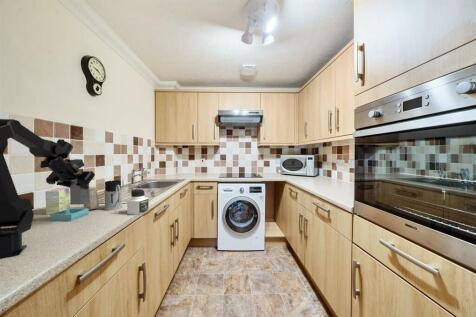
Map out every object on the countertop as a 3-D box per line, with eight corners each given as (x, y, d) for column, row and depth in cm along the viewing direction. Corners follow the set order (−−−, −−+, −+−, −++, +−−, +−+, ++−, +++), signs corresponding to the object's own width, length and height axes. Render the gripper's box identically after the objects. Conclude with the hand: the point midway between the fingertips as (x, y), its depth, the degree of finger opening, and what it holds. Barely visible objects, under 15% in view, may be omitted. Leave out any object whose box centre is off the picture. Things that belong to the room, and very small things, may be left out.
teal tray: (71, 221, 89) (71, 214, 89) (50, 220, 90) (50, 214, 90) (88, 214, 99) (88, 208, 99) (69, 214, 99) (69, 208, 99)
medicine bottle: (139, 215, 98) (139, 190, 98) (127, 214, 100) (126, 190, 100) (148, 211, 105) (148, 188, 105) (137, 210, 107) (136, 188, 107)
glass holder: (119, 205, 117) (118, 179, 117) (128, 209, 108) (128, 182, 107) (101, 208, 110) (101, 181, 110) (110, 213, 101) (109, 183, 101)
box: (57, 209, 108) (56, 187, 108) (70, 208, 110) (69, 187, 110) (45, 215, 98) (44, 191, 98) (59, 214, 100) (59, 190, 100)
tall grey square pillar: (80, 204, 91) (79, 175, 91) (70, 204, 91) (69, 176, 91) (89, 201, 96) (88, 174, 96) (80, 201, 96) (79, 175, 96)
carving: (92, 207, 112) (91, 186, 112) (101, 208, 110) (101, 187, 110) (80, 210, 106) (79, 188, 106) (89, 211, 104) (89, 188, 104)
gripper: (91, 153, 88) (109, 175, 100) (51, 153, 90) (74, 175, 101) (76, 172, 81) (97, 194, 92) (33, 172, 82) (59, 193, 93)
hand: (82, 188), depth 95 cm, fingers closed on tall grey square pillar, 5 cm apart
